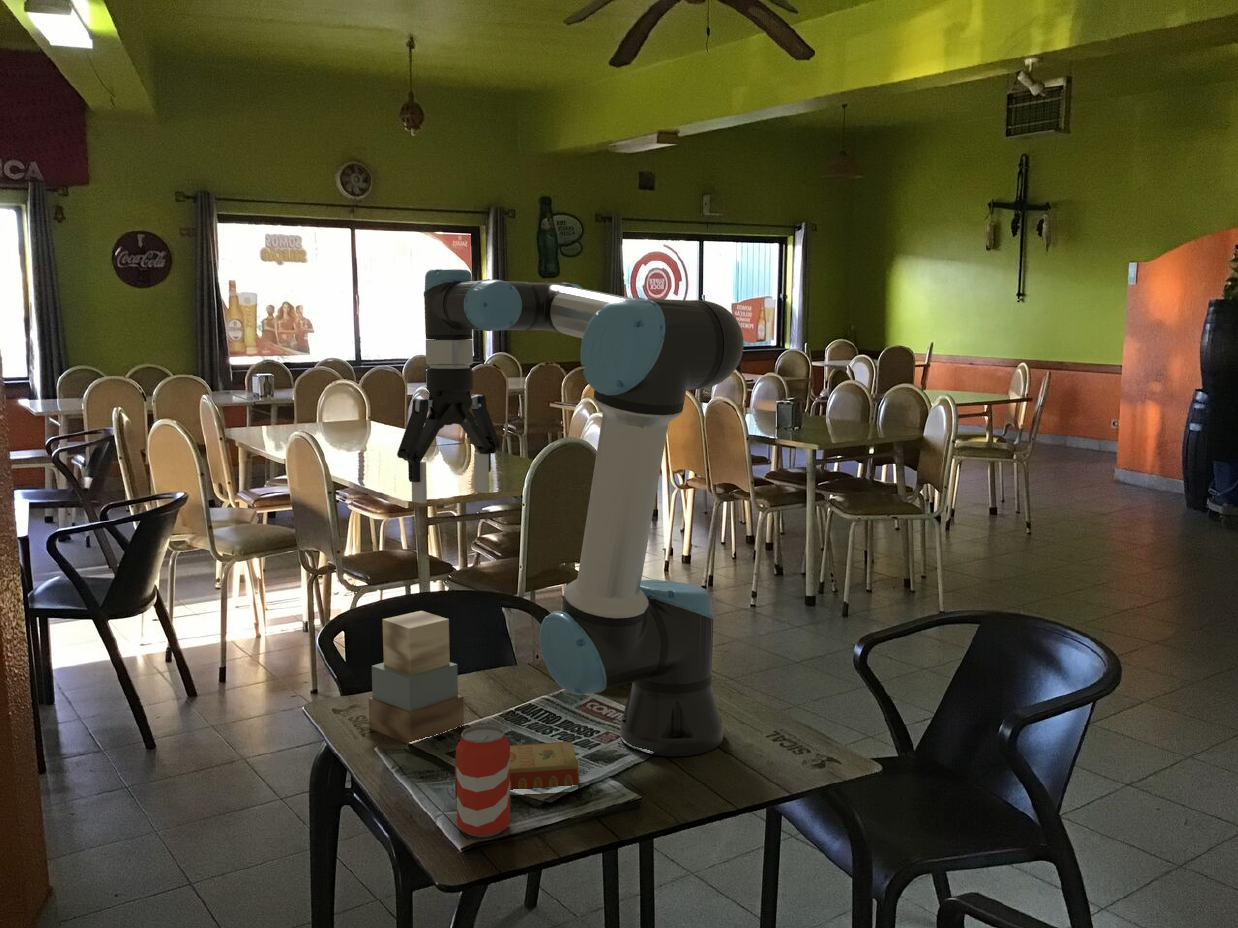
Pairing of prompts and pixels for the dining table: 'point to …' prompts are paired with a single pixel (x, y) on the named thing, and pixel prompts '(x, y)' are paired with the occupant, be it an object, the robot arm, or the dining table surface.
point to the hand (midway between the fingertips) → (451, 497)
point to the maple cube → (416, 642)
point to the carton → (541, 766)
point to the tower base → (415, 719)
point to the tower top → (414, 686)
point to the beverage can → (483, 781)
